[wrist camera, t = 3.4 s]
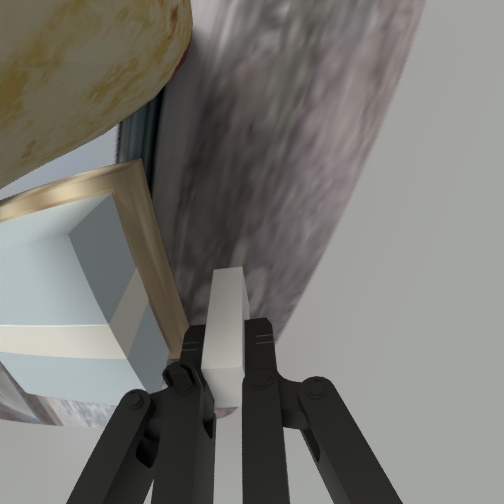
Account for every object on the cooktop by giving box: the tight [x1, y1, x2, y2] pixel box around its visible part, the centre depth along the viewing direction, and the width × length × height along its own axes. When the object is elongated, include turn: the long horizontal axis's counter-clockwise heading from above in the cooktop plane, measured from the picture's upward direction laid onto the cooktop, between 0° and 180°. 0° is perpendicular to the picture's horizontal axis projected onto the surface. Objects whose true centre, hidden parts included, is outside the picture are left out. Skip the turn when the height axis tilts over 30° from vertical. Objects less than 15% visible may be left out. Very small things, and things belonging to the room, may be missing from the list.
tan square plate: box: [0, 158, 190, 359], centre depth 20 cm, size 14×14×3 cm
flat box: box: [0, 193, 169, 406], centre depth 16 cm, size 12×12×5 cm
